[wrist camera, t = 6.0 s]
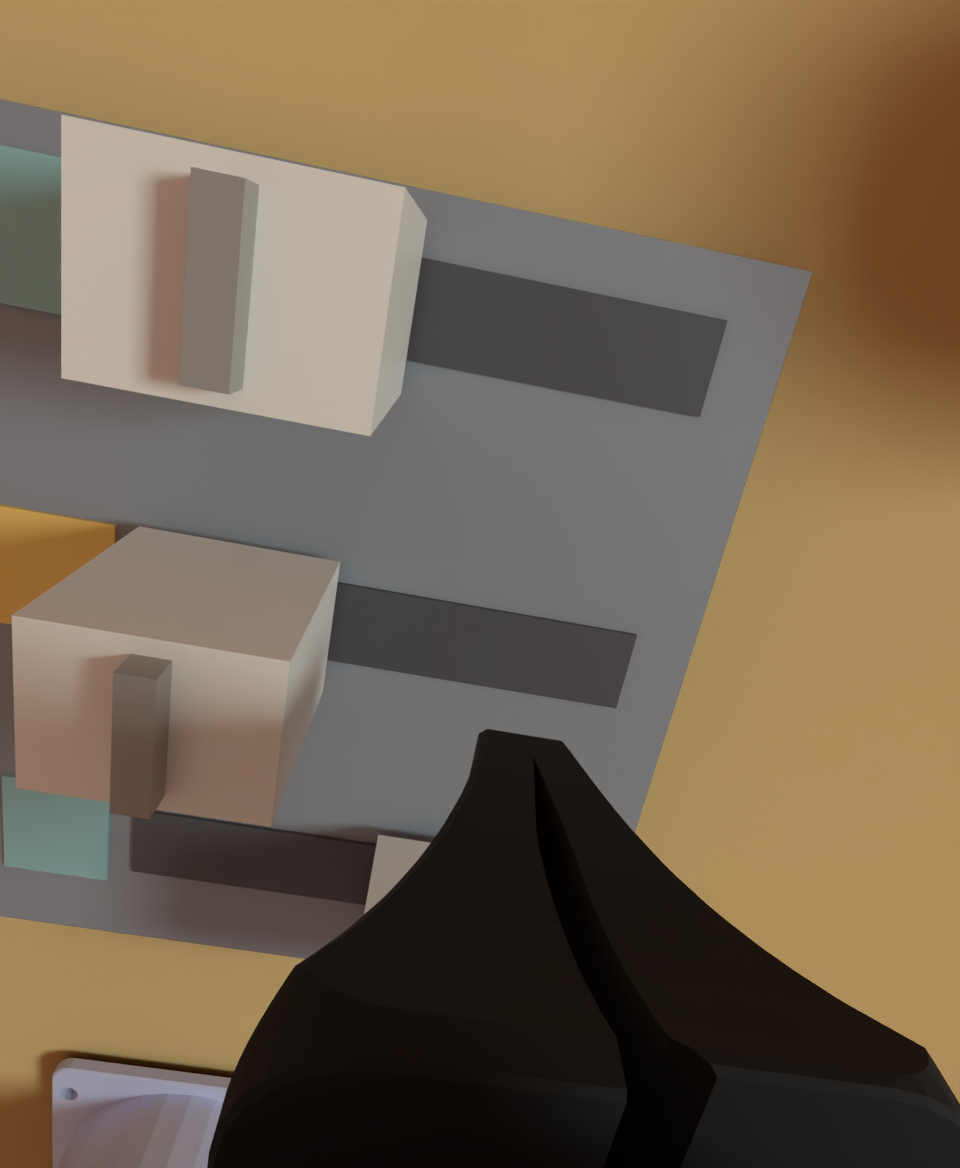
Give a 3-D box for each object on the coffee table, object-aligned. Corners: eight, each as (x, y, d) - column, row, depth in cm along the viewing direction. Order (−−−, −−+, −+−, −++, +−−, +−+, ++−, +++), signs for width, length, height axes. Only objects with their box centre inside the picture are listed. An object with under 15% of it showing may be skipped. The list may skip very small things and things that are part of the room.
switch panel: (576, 960, 21) (582, 1000, 20) (-17, 875, 20) (-48, 912, 19) (787, 272, 15) (814, 271, 14) (-52, 96, 14) (-101, 77, 13)
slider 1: (401, 394, 14) (363, 444, 10) (184, 352, 14) (36, 383, 9) (427, 220, 13) (401, 180, 9) (194, 171, 13) (33, 102, 8)
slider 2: (323, 691, 17) (261, 852, 12) (134, 660, 16) (-7, 812, 12) (340, 562, 16) (280, 680, 11) (138, 526, 15) (-13, 632, 11)
